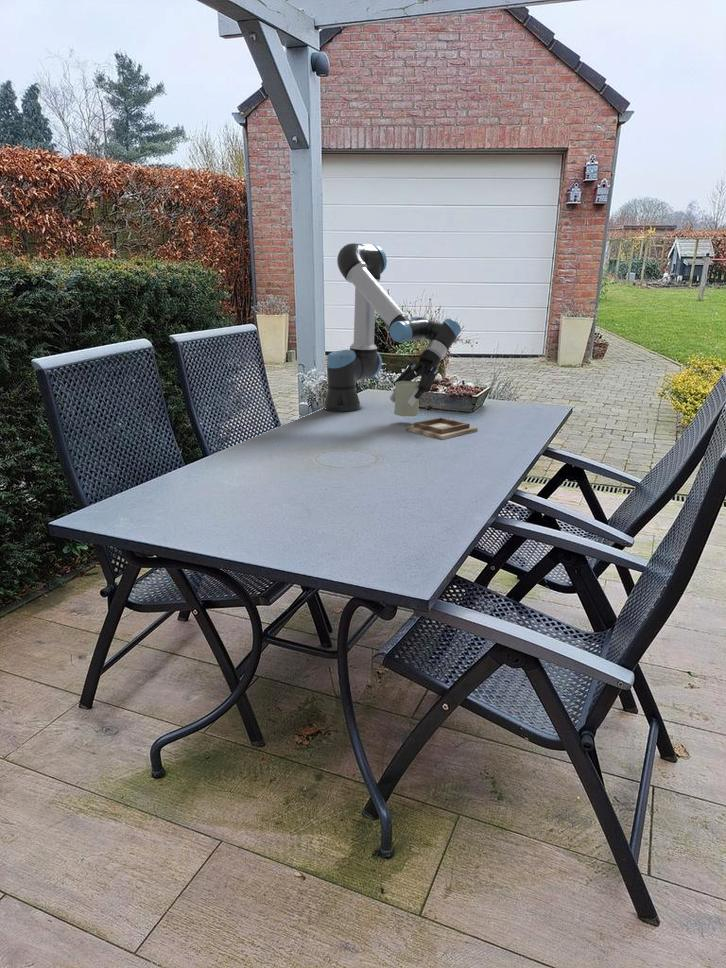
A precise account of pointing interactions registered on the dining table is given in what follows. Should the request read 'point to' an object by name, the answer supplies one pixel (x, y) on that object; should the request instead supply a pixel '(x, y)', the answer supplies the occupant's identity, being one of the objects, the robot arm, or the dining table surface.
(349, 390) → the robot arm
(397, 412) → the can
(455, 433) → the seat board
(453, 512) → the dining table surface
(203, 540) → the dining table surface
